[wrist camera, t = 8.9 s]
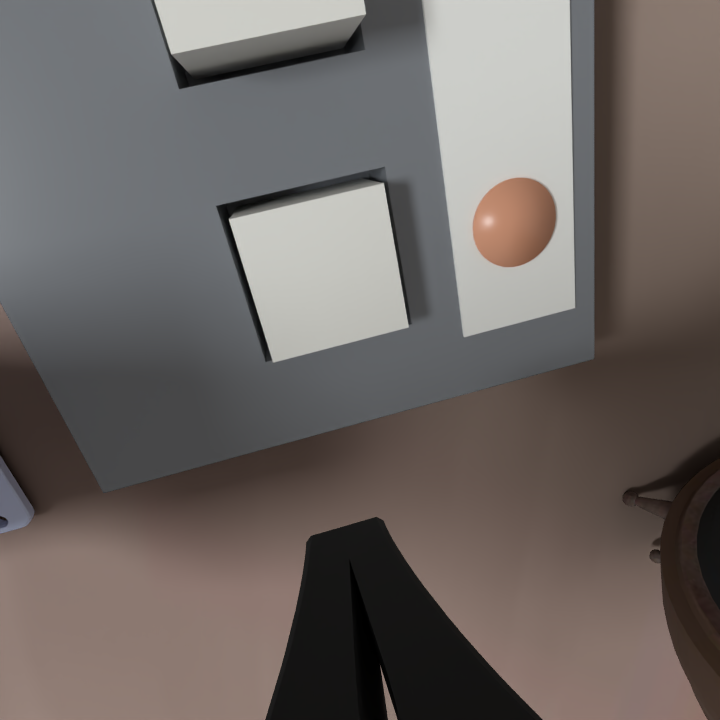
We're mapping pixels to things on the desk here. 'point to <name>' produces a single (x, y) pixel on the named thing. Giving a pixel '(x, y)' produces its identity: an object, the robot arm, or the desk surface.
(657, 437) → the desk surface
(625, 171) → the desk surface
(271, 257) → the button
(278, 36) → the button
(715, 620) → the alarm clock
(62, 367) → the button panel
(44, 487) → the desk surface
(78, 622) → the desk surface
